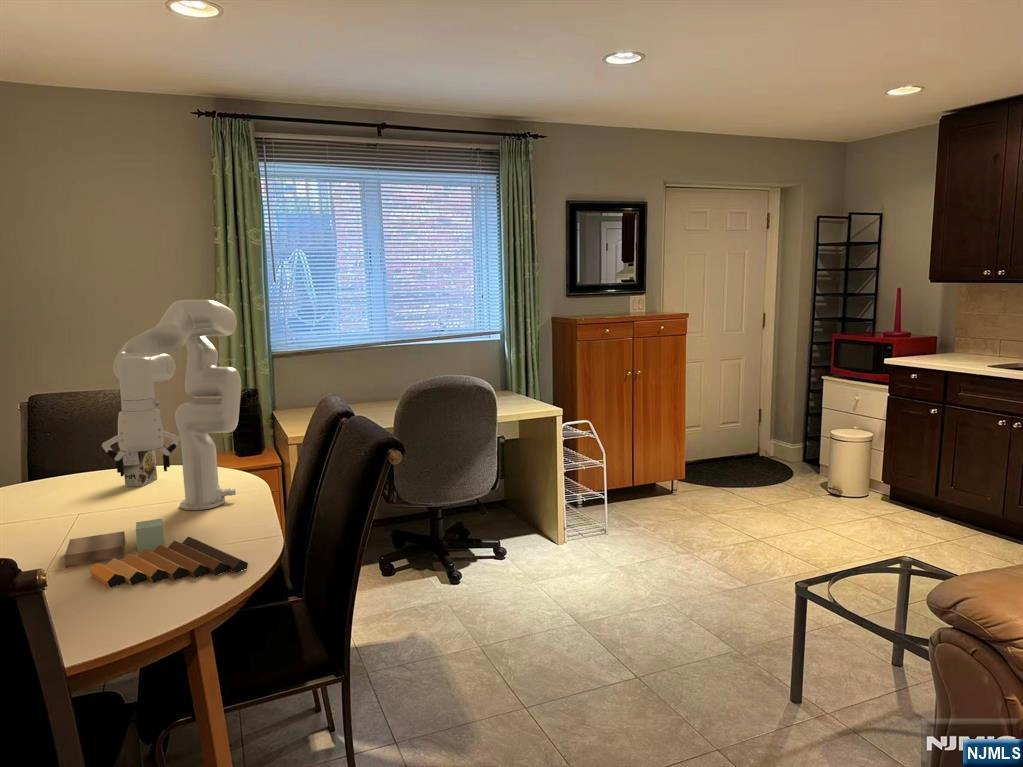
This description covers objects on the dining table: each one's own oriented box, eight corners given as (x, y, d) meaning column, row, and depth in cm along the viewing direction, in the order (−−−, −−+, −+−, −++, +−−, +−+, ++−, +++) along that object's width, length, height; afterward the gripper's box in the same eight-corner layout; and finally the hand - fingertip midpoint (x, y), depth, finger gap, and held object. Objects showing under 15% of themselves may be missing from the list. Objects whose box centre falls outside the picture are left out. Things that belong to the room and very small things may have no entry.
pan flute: (248, 571, 164) (196, 547, 179) (247, 557, 163) (195, 534, 179) (138, 610, 145) (89, 579, 160) (136, 594, 144) (88, 565, 160)
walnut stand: (125, 542, 182) (124, 531, 181) (123, 558, 171) (122, 546, 170) (71, 550, 176) (70, 539, 176) (65, 567, 166) (64, 555, 165)
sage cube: (164, 540, 183) (162, 518, 182) (164, 548, 178) (162, 525, 177) (138, 544, 180) (136, 522, 179) (137, 552, 175) (135, 529, 174)
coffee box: (143, 486, 232) (139, 439, 230) (124, 486, 232) (120, 439, 230) (158, 479, 241) (154, 433, 239) (140, 479, 241) (136, 433, 239)
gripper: (176, 400, 181) (181, 465, 183) (99, 406, 173) (105, 473, 175) (177, 404, 174) (182, 471, 176) (97, 410, 166) (103, 480, 169)
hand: (144, 472), depth 176 cm, fingers open, 9 cm apart
